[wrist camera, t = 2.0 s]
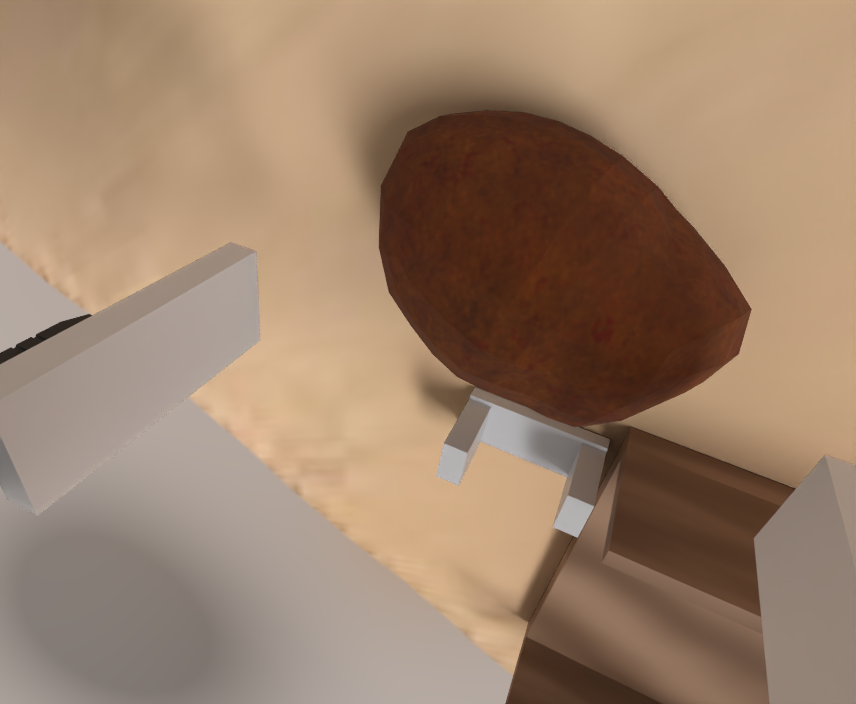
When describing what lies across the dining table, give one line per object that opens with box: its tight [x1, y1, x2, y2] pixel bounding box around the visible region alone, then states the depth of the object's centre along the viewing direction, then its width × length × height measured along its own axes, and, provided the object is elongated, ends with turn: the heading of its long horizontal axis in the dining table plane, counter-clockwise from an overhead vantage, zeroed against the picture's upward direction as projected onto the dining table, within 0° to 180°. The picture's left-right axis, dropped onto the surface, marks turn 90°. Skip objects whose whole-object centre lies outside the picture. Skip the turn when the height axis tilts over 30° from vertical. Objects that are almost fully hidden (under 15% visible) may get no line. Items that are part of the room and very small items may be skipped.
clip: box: [436, 387, 610, 538], centre depth 23 cm, size 2×6×4 cm, turn 82°
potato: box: [379, 110, 751, 427], centre depth 16 cm, size 8×12×8 cm, turn 64°
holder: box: [505, 427, 795, 704], centre depth 23 cm, size 16×15×6 cm
